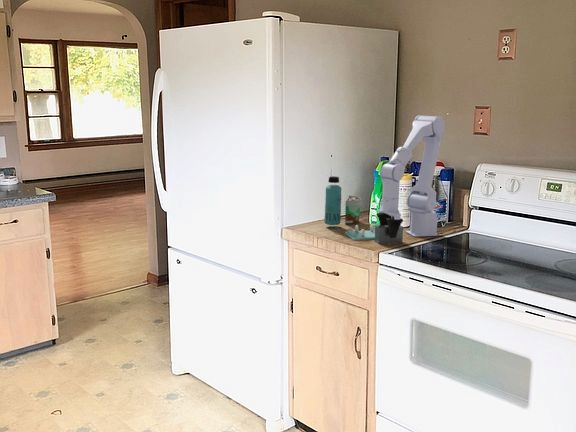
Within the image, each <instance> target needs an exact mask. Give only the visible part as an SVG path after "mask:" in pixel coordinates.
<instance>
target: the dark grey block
mask: <svg viewBox="0 0 576 432" xmlns="http://www.w3.org/2000/svg"><path fill="white" fill-rule="evenodd" d="M374 230H375V239H374V242H375V243H376V244H378V245H386V244H385V243H392V244H402V243H403V237H404V226H402V224H401V225H400V227H399V229H398V232H397V236H396V238H390V237H389V227H388V225H380V224H375V226H374Z"/></svg>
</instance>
